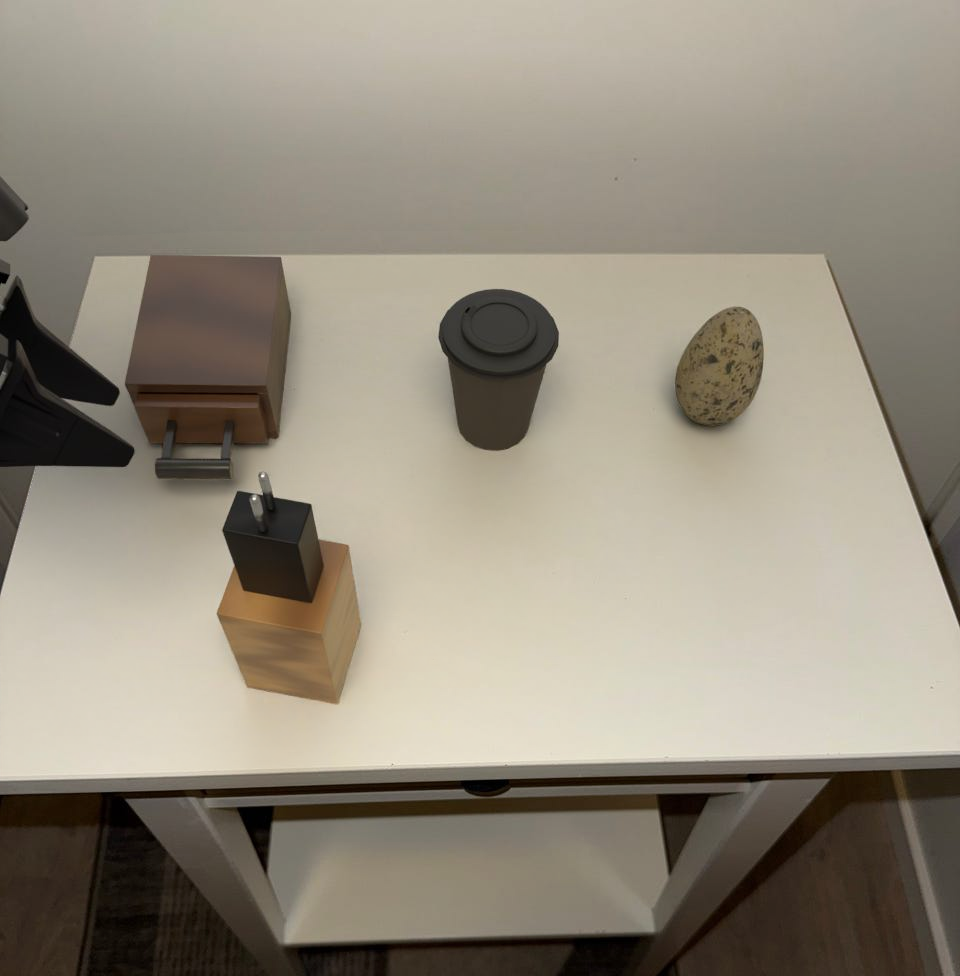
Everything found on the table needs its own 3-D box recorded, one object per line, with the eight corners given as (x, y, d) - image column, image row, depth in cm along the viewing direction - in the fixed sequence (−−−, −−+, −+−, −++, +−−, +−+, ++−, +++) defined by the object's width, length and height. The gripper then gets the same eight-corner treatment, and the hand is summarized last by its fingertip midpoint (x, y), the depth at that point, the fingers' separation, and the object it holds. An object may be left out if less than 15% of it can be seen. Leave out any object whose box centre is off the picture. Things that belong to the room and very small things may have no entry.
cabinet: (278, 438, 72) (266, 385, 67) (146, 437, 72) (124, 384, 67) (291, 313, 78) (281, 256, 73) (169, 312, 78) (150, 254, 73)
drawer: (261, 496, 68) (251, 462, 65) (139, 496, 68) (123, 461, 65) (279, 326, 76) (272, 288, 73) (170, 325, 76) (157, 286, 72)
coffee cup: (435, 383, 75) (433, 279, 66) (540, 378, 76) (553, 275, 67) (442, 468, 71) (442, 370, 62) (553, 462, 72) (568, 364, 63)
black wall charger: (242, 591, 55) (210, 498, 47) (256, 553, 56) (226, 457, 48) (312, 604, 55) (290, 513, 47) (324, 565, 56) (305, 471, 48)
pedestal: (246, 687, 63) (215, 613, 54) (273, 607, 65) (248, 525, 57) (338, 705, 62) (321, 633, 54) (361, 623, 65) (349, 544, 57)
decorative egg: (659, 385, 76) (687, 282, 67) (734, 381, 76) (772, 278, 67) (674, 446, 73) (706, 347, 64) (752, 441, 73) (794, 342, 64)
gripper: (-171, 124, 35) (224, 346, 44) (-116, 82, 49) (172, 256, 58) (-280, 392, 38) (110, 549, 47) (-198, 279, 52) (88, 415, 61)
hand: (123, 425), depth 53 cm, fingers open, 9 cm apart
